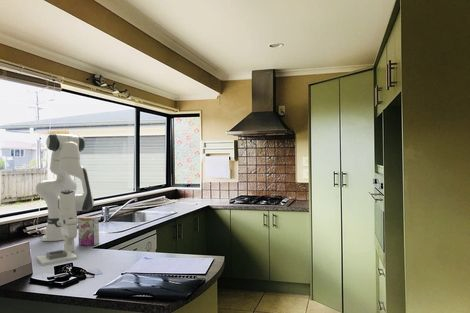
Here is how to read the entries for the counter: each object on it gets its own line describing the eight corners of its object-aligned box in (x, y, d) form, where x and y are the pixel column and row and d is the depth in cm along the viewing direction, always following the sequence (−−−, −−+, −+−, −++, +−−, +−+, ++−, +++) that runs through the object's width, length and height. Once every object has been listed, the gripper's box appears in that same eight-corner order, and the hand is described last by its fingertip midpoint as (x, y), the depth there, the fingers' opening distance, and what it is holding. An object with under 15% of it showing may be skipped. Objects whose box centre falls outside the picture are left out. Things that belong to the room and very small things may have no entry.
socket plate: (36, 258, 183) (36, 252, 183) (69, 252, 193) (69, 247, 193) (42, 265, 171) (42, 258, 171) (77, 258, 180) (77, 252, 181)
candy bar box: (78, 245, 211) (77, 217, 211) (83, 243, 216) (83, 216, 216) (94, 245, 208) (93, 218, 208) (99, 243, 213) (98, 216, 213)
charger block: (63, 251, 198) (63, 236, 198) (72, 249, 201) (71, 235, 201) (65, 252, 194) (65, 237, 194) (74, 250, 197) (73, 236, 197)
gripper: (57, 217, 204) (58, 241, 204) (66, 222, 188) (67, 248, 188) (69, 216, 208) (70, 240, 208) (79, 220, 192) (79, 245, 192)
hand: (68, 243), depth 198 cm, fingers closed on charger block, 4 cm apart
